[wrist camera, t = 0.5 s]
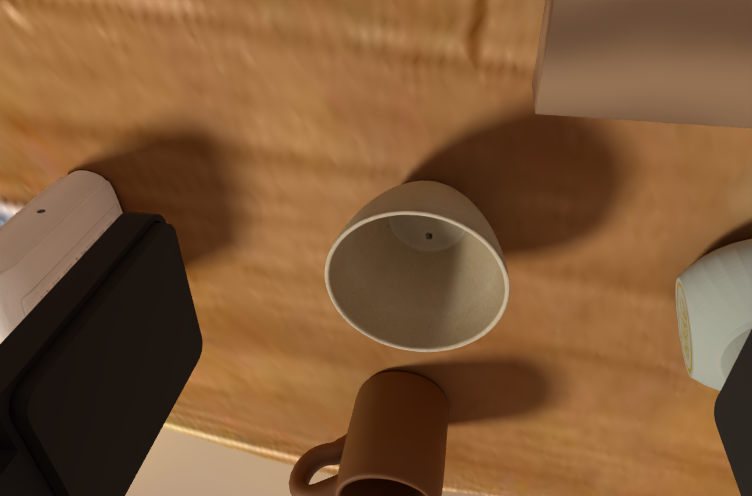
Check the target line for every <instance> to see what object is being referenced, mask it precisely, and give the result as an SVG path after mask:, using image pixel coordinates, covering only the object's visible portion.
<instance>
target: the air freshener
mask: <svg viewBox="0 0 752 496" xmlns="http://www.w3.org/2000/svg"><path fill="white" fill-rule="evenodd" d="M676 310H677V320H678V328H679V335H680V341H681V347H682V352H683V357H684V361H685V365H686V368H687V371H688V373H689V375H690V377H692V378H693V379H695V380H697V381H699V382H700V383H702V384H704V385H706V386H708V387H711V388H714V389H716V390H719V391H721V389H722V387H723V385H724V383H725V381H726V379H727V377H728V375H729V373H730V371H731V369H732V367H733V365H734V363H735V361H736V359H737V357H738V355H739V353H740V351H741V349H742V347H743V345H744V343H745V341H746V339H747V337H748V335H749V333H750V331H751V329H752V239H748V240H744V241H740V242H736V243H732V244H729V245H727V246H724V247H721V248H719V249H716V250H714V251H713V252H711V253H709V254H707V255H705V256H703V257H702V258H700V259H699V260H697V261H696V262H694V263H693V264H692V265H690V266H689V267H688V268H687V269H686V270H685V271H684V272H683V273H682V274H680V275H679V277H678V278H677V280H676Z"/></svg>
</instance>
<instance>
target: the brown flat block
mask: <svg viewBox="0 0 752 496" xmlns="http://www.w3.org/2000/svg"><path fill="white" fill-rule="evenodd" d="M532 89H533V98H534V107H535V114H544V115H559V116H574V117H589V118H604V119H619V120H633V121H648V122H663V123H678V124H693V125H708V126H723V127H738V128H752V0H546V2H545V9H544V15H543V21H542V27H541V33H540V39H539V45H538V52H537V58H536V64H535V70H534V76H533V82H532Z"/></svg>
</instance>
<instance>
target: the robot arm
mask: <svg viewBox="0 0 752 496" xmlns="http://www.w3.org/2000/svg"><path fill="white" fill-rule="evenodd" d="M201 352H202V336H201V332H200V328H199V324H198V320H197V316H196V312H195V308H194V304H193V300H192V296H191V292H190V288H189V284H188V280H187V276H186V272H185V268H184V264H183V260H182V256H181V252H180V248H179V244H178V240H177V236H176V232H175V229H174V227H173V226H172V225H170V224H166V221H165V219H164V218H163V217H162V216H161V215H159V214H150V213H138V212H124V213H122V214H121V215H120V216H119V217H118V218H117V219H116V220H115V221H114V222H113V223H112V224H111V225H110V226H109V228H108V229H107V230H106V231H105V232H104V233H103V234H102V235H101V236H100V237H99V238H98V239H97V240H96V242H95V243H94V244H93V245H92V246H91V247H90V248H89V249H88V250H87V251H86V252H85V253H84V254H83V256H82V257H81V258H80V259H79V260H78V261H77V262H76V263H75V264H74V265H73V266H72V267H71V268H70V269H69V271H68V272H67V273H66V274H65V275H64V276H63V277H62V278H61V279H60V280H59V281H58V282H57V283H56V285H55V286H54V287H53V288H52V289H51V290H50V291H49V292H48V293H47V294H46V295H45V296H44V297H43V299H42V300H41V301H40V302H39V303H38V304H37V305H36V306H35V307H34V308H33V309H32V310H31V311H30V312H29V314H28V315H27V316H26V317H25V318H24V319H23V320H22V321H21V322H20V323H19V324H18V325H17V326H16V328H15V329H14V330H13V331H12V332H11V333H10V334H9V335H8V336H7V337H6V338H5V339H4V340H3V342H2V343H1V344H0V496H125V494H126V493H127V491H128V489H129V487H130V485H131V484H132V482H133V480H134V478H135V476H136V474H137V473H138V471H139V469H140V467H141V465H142V463H143V461H144V460H145V458H146V455H147V454H148V452H149V450H150V449H151V447H152V445H153V443H154V441H155V439H156V438H157V436H158V434H159V432H160V430H161V428H162V427H163V425H164V423H165V421H166V419H167V417H168V416H169V414H170V412H171V410H172V408H173V406H174V404H175V403H176V401H177V399H178V397H179V395H180V393H181V392H182V390H183V388H184V386H185V384H186V382H187V381H188V379H189V377H190V375H191V373H192V371H193V370H194V368H195V366H196V364H197V362H198V360H199V358H200V355H201ZM714 416H715V422H716V426H717V428H718V431H719V434H720V437H721V440H722V443H723V445H724V448H725V451H726V454H727V457H728V460H729V462H730V465H731V468H732V471H733V474H734V477H735V480H736V482H737V485H738V488H739V491H740V494H741V496H752V329H751V331H750V333H749V335H748V337H747V339H746V341H745V343H744V345H743V347H742V349H741V351H740V353H739V355H738V357H737V359H736V361H735V363H734V365H733V367H732V369H731V371H730V373H729V375H728V377H727V379H726V381H725V383H724V385H723V387H722V389H721V391H720V393H719V395H718V397H717V399H716V402H715V407H714Z"/></svg>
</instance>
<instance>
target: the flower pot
mask: <svg viewBox="0 0 752 496" xmlns="http://www.w3.org/2000/svg"><path fill="white" fill-rule="evenodd" d="M430 234H431V235H432V237H430ZM325 282H326V287H327V291H328V293H329V296H330V298H331V300H332V302H333V304H334V306H335V307H336V309H337V310H338V311H339V313H340V314H341V315H342V316H343V317H344V318H345V319H346V320H347V322H349V323H350V324H351V325H352V326H353V327H354V328H356V329H357V330H358V331H360V332H361V333H363V334H364V335H366V336H367V337H369V338H371V339H373V340H375V341H377V342H380V343H382V344H385V345H388V346H391V347H394V348H398V349H403V350H409V351H417V352H437V351H445V350H451V349H455V348H459V347H462V346H464V345H467V344H469V343H471V342H474V341H475V340H477V339H479V338H481V337H482V336H484V335H485V334H487V333H488V332H489V331H490V330H491V329H492V328H493V327H494V326H495V325H496V324H497V323H498V321H499V320H500V318H501V317H502V315H503V314H504V312H505V309H506V307H507V304H508V300H509V294H510V284H509V276H508V271H507V266H506V262H505V259H504V256H503V253H502V250H501V247H500V245H499V242H498V240H497V238H496V236H495V234H494V232H493V230H492V228H491V226H490V225H489V223H488V221H487V220H486V218H485V217H484V216H483V214H482V213H481V212H480V211H479V209H478V208H477V207H476V206H475V205H474V204H473V203H472V202H471V201H470V200H469V199H468V198H467V197H466V196H464V195H463V194H462V193H460V192H459V191H457V190H456V189H454V188H452V187H450V186H448V185H446V184H443V183H440V182H435V181H415V182H409V183H405V184H402V185H399V186H397V187H394V188H392V189H390V190H388V191H386V192H384V193H382V194H381V195H379V196H378V197H376V198H375V199H373V200H372V201H371V202H369V203H368V204H367V205H366V206H364V207H363V208H362V209H361V210H360V211H359V212H358V213H357V214H356V215H355V216H354V217H353V218H352V219H351V220H350V222H349V223H348V224H347V225H346V226H345V228H344V229H343V230H342V232H341V233H340V235H339V236H338V237H337V239H336V241H335V242H334V244H333V246H332V248H331V250H330V252H329V254H328V257H327V260H326V265H325Z"/></svg>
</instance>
